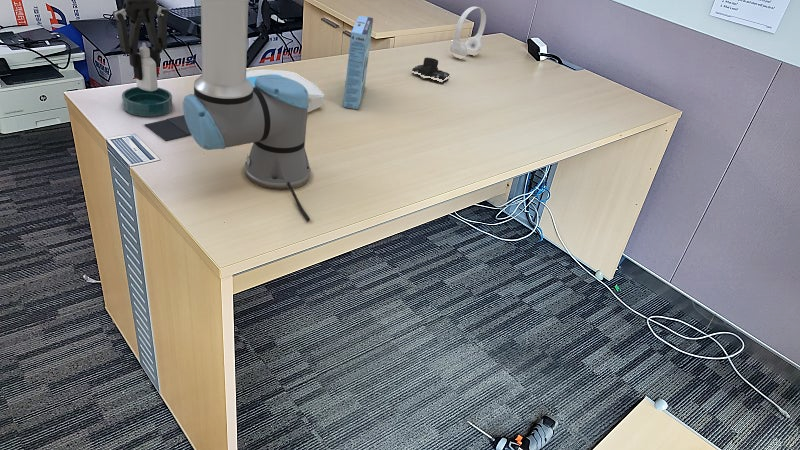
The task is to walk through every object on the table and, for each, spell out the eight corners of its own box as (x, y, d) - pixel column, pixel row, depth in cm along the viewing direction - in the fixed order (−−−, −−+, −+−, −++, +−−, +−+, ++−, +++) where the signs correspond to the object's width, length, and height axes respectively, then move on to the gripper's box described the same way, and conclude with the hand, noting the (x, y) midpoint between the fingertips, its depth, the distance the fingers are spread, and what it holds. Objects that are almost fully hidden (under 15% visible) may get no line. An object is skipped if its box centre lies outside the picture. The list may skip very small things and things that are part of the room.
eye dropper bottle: (141, 93, 155) (137, 47, 149) (135, 84, 159) (131, 39, 152) (159, 91, 157) (156, 46, 151) (152, 83, 161) (149, 39, 155)
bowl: (181, 111, 163) (180, 99, 161) (138, 121, 154) (137, 108, 152) (157, 95, 169) (156, 83, 167) (114, 103, 160) (113, 90, 158)
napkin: (208, 130, 156) (208, 129, 156) (165, 141, 148) (165, 139, 148) (187, 116, 161) (187, 114, 161) (144, 125, 153) (144, 123, 153)
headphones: (483, 57, 249) (495, 7, 238) (458, 63, 236) (470, 12, 226) (469, 51, 253) (480, 2, 242) (444, 57, 240) (454, 6, 229)
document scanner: (201, 98, 172) (200, 77, 168) (283, 84, 190) (284, 65, 186) (241, 127, 160) (241, 105, 157) (324, 110, 179) (326, 90, 175)
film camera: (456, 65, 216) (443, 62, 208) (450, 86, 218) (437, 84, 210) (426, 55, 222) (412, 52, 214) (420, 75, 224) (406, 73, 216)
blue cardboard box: (358, 110, 183) (368, 35, 170) (341, 107, 183) (350, 32, 170) (364, 87, 199) (374, 17, 187) (349, 84, 199) (358, 14, 186)
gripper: (163, -23, 151) (168, 67, 164) (96, -20, 140) (107, 77, 153) (179, -15, 148) (183, 77, 160) (112, -12, 136) (122, 87, 149)
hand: (146, 76), depth 156 cm, fingers closed on eye dropper bottle, 4 cm apart
